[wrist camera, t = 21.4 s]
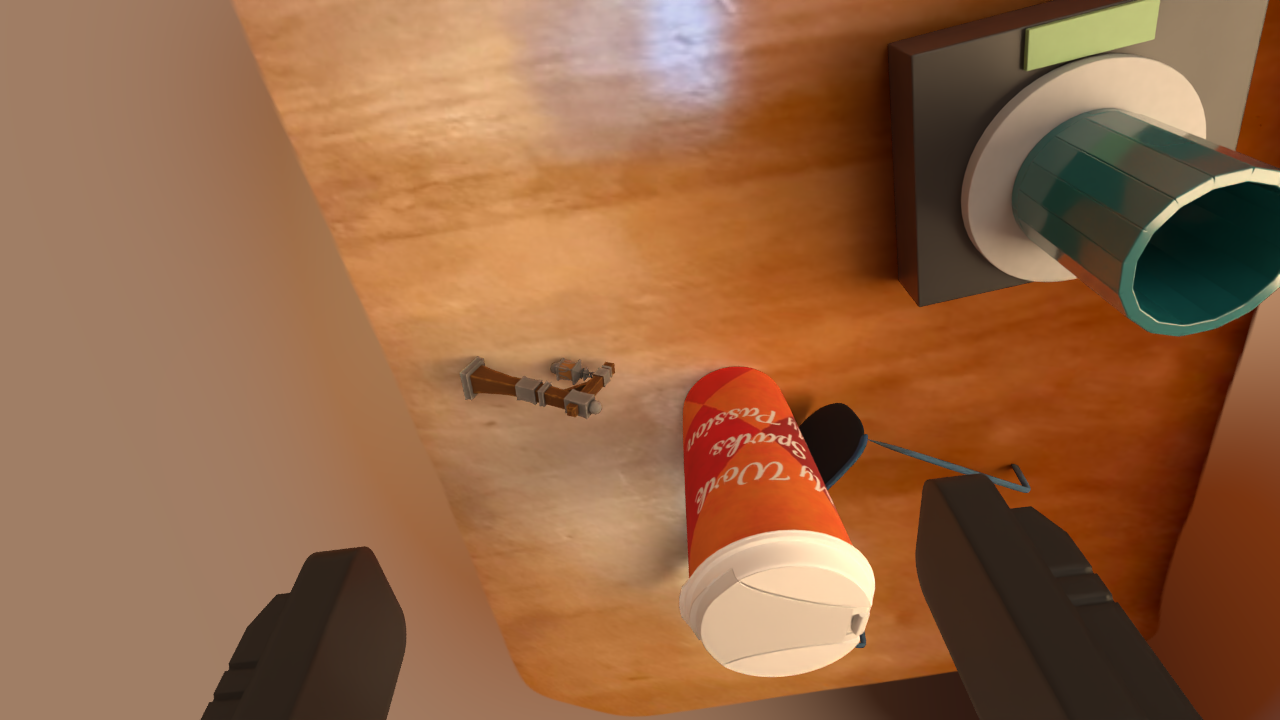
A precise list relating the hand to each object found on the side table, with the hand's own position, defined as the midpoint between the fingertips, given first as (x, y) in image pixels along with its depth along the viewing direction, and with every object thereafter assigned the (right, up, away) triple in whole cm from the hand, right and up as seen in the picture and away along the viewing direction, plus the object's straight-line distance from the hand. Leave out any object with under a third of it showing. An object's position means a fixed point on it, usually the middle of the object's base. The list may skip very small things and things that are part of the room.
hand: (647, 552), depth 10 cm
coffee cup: (+5, 0, +32) cm, 32 cm away
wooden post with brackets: (-6, +3, +29) cm, 30 cm away
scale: (+19, +13, +23) cm, 33 cm away
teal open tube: (+19, +11, +21) cm, 30 cm away
